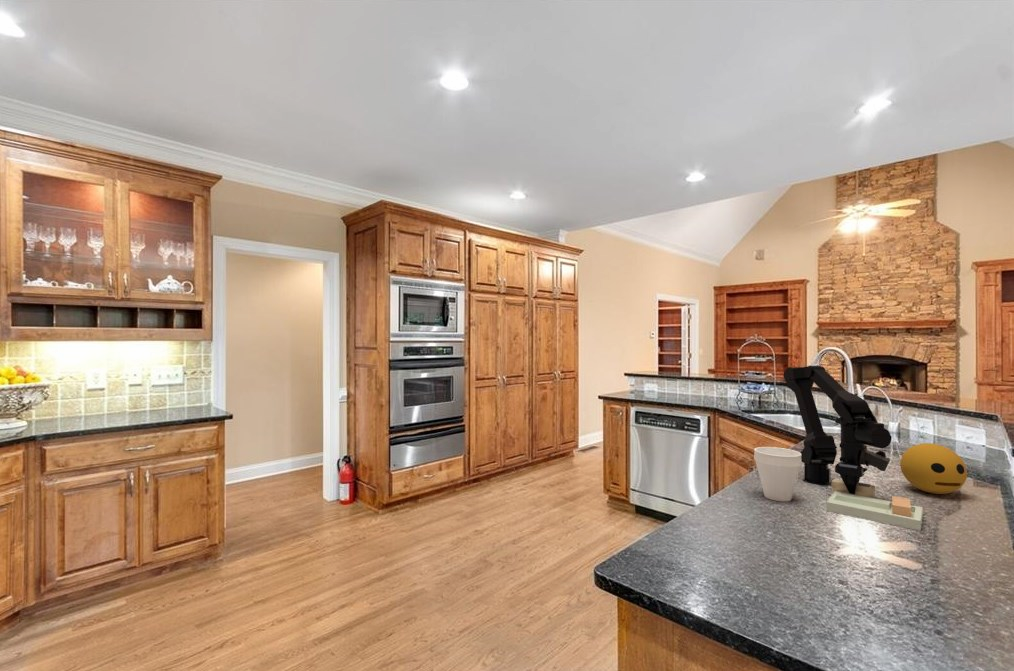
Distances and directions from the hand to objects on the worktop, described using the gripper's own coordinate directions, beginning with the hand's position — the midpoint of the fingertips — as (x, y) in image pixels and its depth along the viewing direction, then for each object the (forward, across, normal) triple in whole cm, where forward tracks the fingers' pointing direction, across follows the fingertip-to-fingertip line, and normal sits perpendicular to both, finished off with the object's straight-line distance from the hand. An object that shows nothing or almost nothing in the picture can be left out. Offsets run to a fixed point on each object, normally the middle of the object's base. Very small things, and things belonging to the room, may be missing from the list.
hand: (853, 493), depth 136 cm
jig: (+1, -13, -6) cm, 14 cm away
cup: (+1, -16, +16) cm, 23 cm away
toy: (+1, +22, -17) cm, 28 cm away
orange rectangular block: (0, -13, -12) cm, 17 cm away
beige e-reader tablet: (+1, 0, 0) cm, 1 cm away
